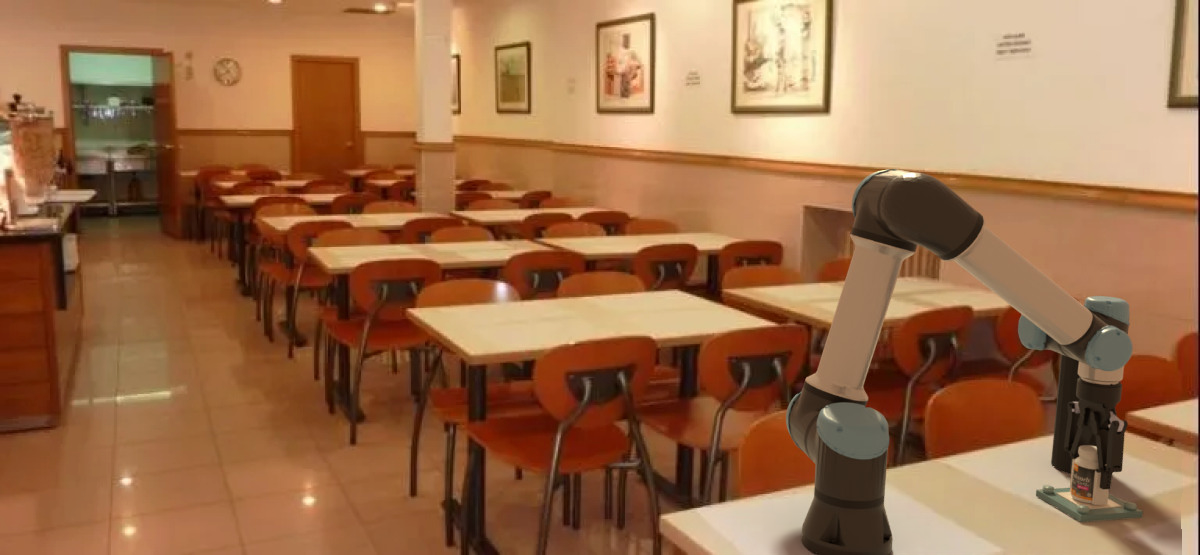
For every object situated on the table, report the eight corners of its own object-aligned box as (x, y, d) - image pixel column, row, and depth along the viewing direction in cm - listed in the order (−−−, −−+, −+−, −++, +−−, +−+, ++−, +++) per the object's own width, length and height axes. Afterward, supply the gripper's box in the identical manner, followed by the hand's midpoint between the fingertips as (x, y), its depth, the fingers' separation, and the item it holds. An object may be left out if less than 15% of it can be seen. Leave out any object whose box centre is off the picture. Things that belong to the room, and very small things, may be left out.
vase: (1113, 476, 204) (1128, 335, 199) (1065, 475, 204) (1078, 334, 199) (1089, 459, 214) (1102, 324, 209) (1042, 459, 214) (1055, 324, 209)
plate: (1080, 521, 180) (1081, 510, 180) (1035, 495, 193) (1036, 484, 192) (1142, 517, 183) (1143, 506, 182) (1094, 491, 195) (1095, 481, 195)
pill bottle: (1063, 495, 189) (1068, 446, 187) (1084, 491, 191) (1089, 442, 190) (1089, 506, 183) (1094, 455, 182) (1110, 502, 186) (1115, 451, 184)
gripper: (1154, 392, 175) (1141, 515, 179) (1084, 366, 193) (1073, 479, 197) (1117, 393, 174) (1104, 518, 177) (1050, 367, 192) (1039, 481, 196)
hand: (1088, 497), depth 187 cm, fingers closed on pill bottle, 6 cm apart
